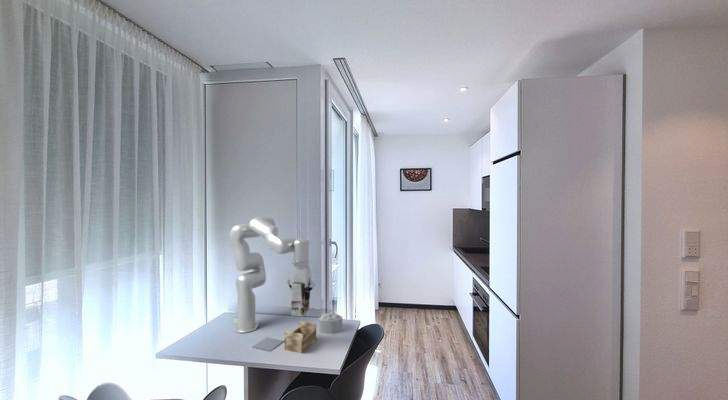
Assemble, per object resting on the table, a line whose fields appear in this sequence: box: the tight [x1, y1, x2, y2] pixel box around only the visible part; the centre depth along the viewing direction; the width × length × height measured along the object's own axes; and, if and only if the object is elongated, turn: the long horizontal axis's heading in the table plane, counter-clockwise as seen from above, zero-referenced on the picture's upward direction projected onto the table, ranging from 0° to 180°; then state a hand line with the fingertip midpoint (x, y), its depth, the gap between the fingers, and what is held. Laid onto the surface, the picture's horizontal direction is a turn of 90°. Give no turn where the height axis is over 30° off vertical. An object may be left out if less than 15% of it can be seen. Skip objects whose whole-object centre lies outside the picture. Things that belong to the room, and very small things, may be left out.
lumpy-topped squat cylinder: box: [318, 311, 343, 335], centre depth 169 cm, size 10×13×9 cm
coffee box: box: [290, 282, 311, 317], centre depth 151 cm, size 9×6×16 cm
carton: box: [284, 320, 317, 354], centre depth 151 cm, size 10×13×9 cm
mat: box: [251, 336, 285, 352], centre depth 151 cm, size 11×11×1 cm
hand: (300, 298), depth 151 cm, fingers closed on coffee box, 7 cm apart
